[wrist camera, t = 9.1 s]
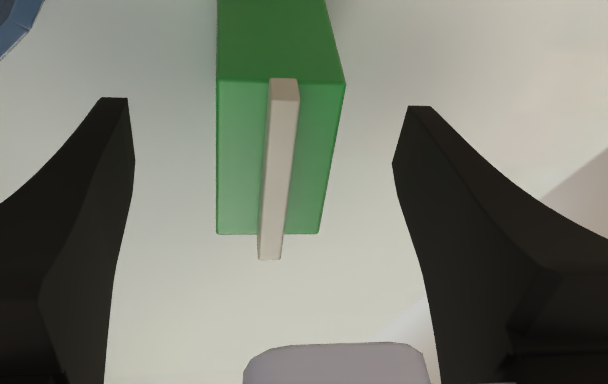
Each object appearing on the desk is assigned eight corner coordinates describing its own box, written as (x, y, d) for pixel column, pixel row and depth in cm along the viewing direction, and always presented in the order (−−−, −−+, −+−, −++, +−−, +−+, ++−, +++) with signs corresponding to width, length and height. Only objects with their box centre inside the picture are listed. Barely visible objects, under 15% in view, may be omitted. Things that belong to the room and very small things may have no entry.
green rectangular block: (217, 94, 20) (215, 261, 15) (217, -55, 17) (215, 97, 11) (298, 97, 21) (324, 260, 16) (316, -49, 17) (357, 101, 12)
